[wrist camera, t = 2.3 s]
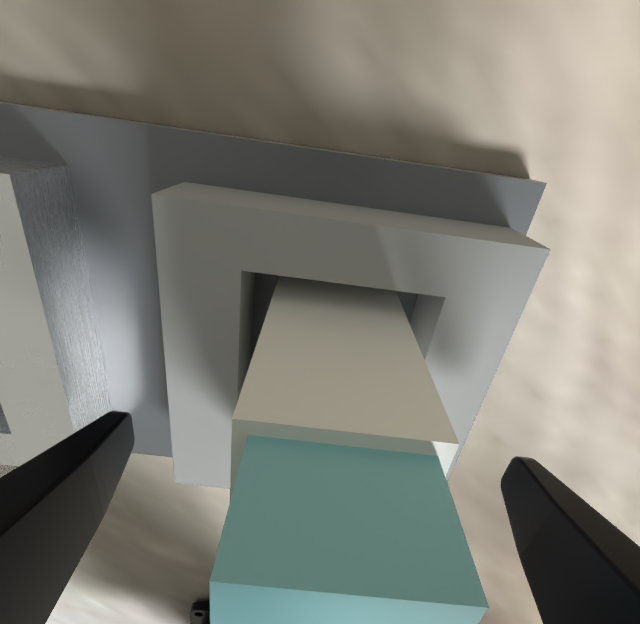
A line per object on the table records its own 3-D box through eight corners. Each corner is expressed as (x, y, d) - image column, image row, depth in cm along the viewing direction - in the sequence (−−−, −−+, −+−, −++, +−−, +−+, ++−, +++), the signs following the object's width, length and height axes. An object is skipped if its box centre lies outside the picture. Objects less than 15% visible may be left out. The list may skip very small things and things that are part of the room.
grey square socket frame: (510, 227, 10) (550, 249, 8) (421, 462, 14) (434, 510, 12) (184, 181, 10) (151, 194, 8) (194, 437, 14) (174, 482, 12)
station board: (531, 179, 10) (547, 183, 9) (420, 468, 16) (425, 484, 15) (-299, 57, 9) (-350, 52, 8) (-105, 410, 15) (-127, 424, 14)
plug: (394, 288, 11) (522, 595, 4) (363, 412, 13) (406, 749, 6) (279, 273, 11) (184, 562, 4) (268, 401, 13) (196, 733, 6)
